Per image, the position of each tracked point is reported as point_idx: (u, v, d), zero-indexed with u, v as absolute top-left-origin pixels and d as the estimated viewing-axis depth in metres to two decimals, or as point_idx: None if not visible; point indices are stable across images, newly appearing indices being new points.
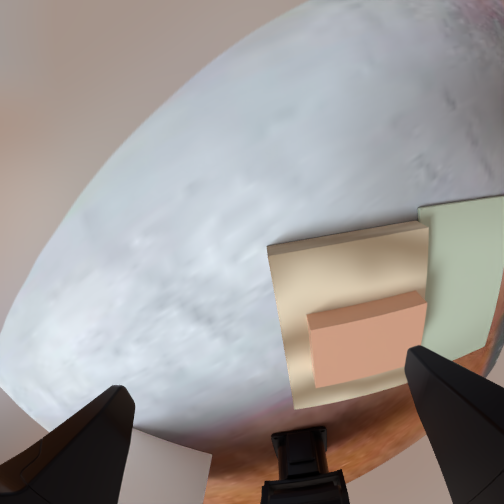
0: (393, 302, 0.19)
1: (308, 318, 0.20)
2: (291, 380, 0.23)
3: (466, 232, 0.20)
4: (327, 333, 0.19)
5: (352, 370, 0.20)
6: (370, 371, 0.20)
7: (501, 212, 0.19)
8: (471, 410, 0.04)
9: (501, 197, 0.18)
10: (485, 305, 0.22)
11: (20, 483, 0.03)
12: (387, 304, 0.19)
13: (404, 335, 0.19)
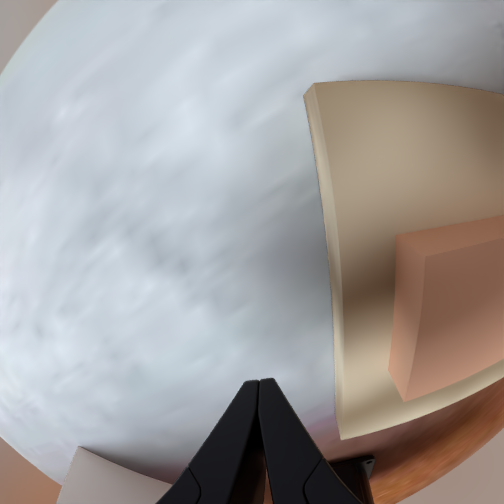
0: None
1: (404, 239, 0.08)
2: (346, 390, 0.11)
3: None
4: (453, 268, 0.07)
5: (471, 357, 0.08)
6: (492, 356, 0.08)
7: None
8: (268, 468, 0.04)
9: None
10: None
11: None
12: None
13: None
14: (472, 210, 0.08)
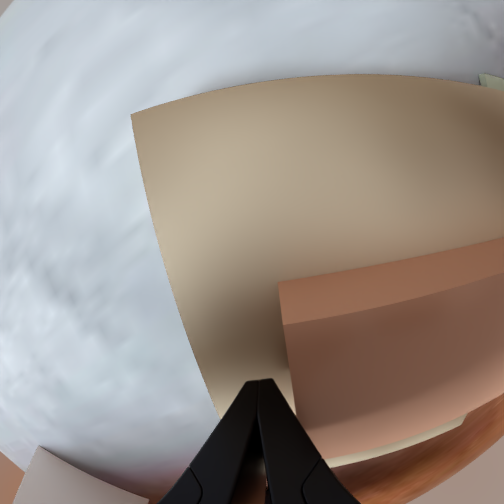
0: (494, 252, 0.06)
1: (282, 291, 0.07)
2: None
3: None
4: (338, 338, 0.06)
5: (393, 426, 0.07)
6: (430, 422, 0.07)
7: None
8: (266, 468, 0.04)
9: None
10: None
11: None
12: (484, 256, 0.06)
13: None
14: (376, 251, 0.07)
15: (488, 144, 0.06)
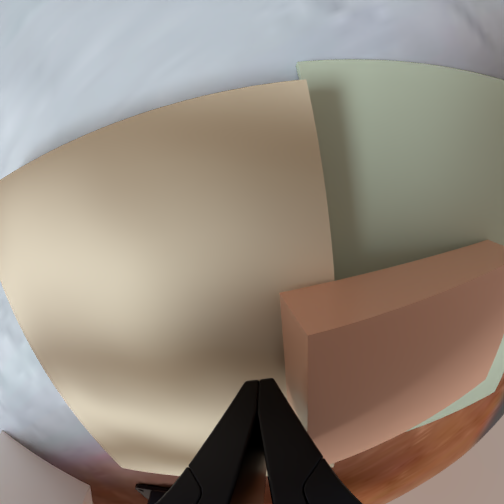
0: (471, 256, 0.07)
1: (289, 301, 0.07)
2: (85, 425, 0.10)
3: (454, 139, 0.07)
4: (356, 343, 0.06)
5: (391, 423, 0.07)
6: (421, 416, 0.08)
7: None
8: (268, 468, 0.04)
9: None
10: None
11: None
12: (464, 260, 0.07)
13: (489, 327, 0.07)
14: (110, 293, 0.08)
15: (236, 166, 0.07)
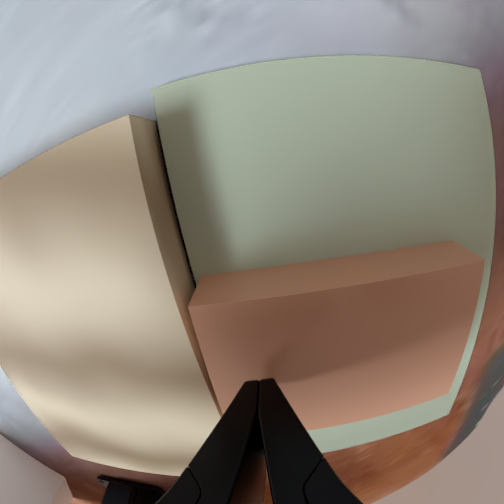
0: (409, 257, 0.08)
1: (200, 282, 0.09)
2: (35, 414, 0.11)
3: (342, 140, 0.08)
4: (233, 321, 0.07)
5: (310, 412, 0.09)
6: (352, 414, 0.09)
7: (464, 103, 0.07)
8: (268, 468, 0.04)
9: (454, 66, 0.06)
10: None
11: None
12: (396, 260, 0.08)
13: (433, 337, 0.08)
14: (24, 303, 0.08)
15: (81, 203, 0.07)
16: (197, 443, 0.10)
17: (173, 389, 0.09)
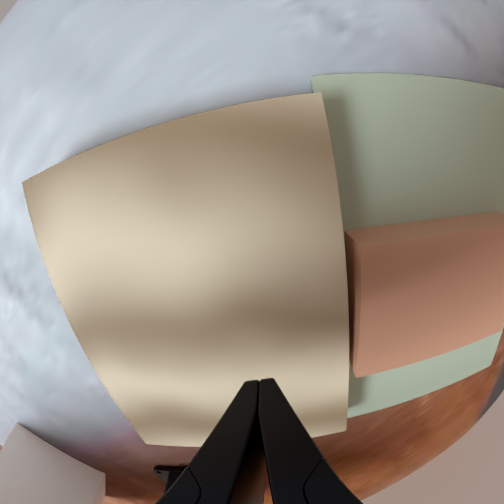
0: (479, 219, 0.10)
1: (350, 234, 0.10)
2: (115, 399, 0.13)
3: (438, 136, 0.09)
4: (389, 258, 0.09)
5: (420, 342, 0.10)
6: (444, 344, 0.10)
7: None
8: (268, 468, 0.04)
9: (498, 88, 0.08)
10: None
11: None
12: (472, 220, 0.10)
13: (496, 276, 0.09)
14: (159, 262, 0.10)
15: (269, 157, 0.09)
16: (315, 395, 0.12)
17: (317, 334, 0.11)
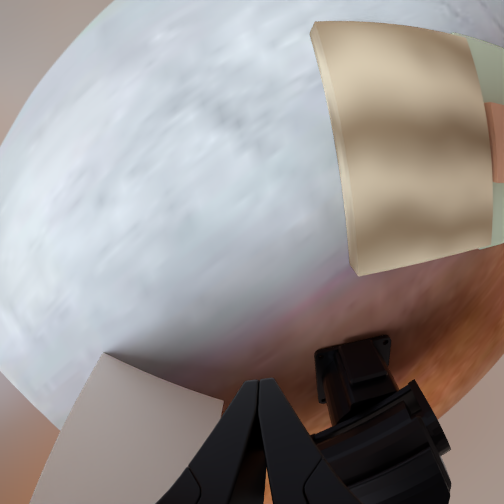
0: None
1: None
2: (355, 208, 0.16)
3: (500, 71, 0.13)
4: (500, 111, 0.13)
5: None
6: None
7: None
8: (268, 467, 0.04)
9: None
10: None
11: None
12: None
13: None
14: (415, 88, 0.13)
15: (455, 56, 0.12)
16: (480, 198, 0.15)
17: (479, 148, 0.14)
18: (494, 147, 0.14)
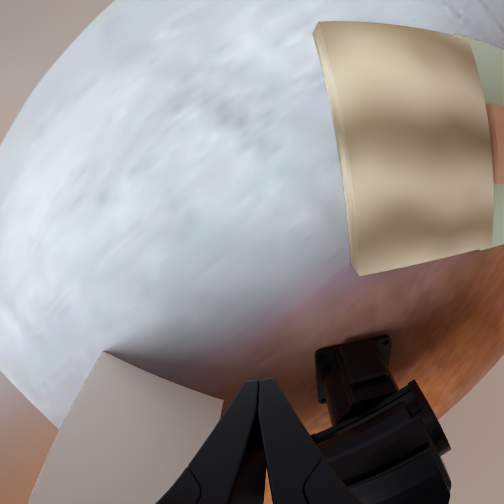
0: None
1: None
2: (357, 208, 0.16)
3: (502, 73, 0.13)
4: (501, 113, 0.13)
5: None
6: None
7: None
8: (268, 468, 0.04)
9: None
10: None
11: None
12: None
13: None
14: (418, 88, 0.13)
15: (457, 57, 0.12)
16: (481, 199, 0.15)
17: (480, 149, 0.14)
18: (495, 148, 0.14)
